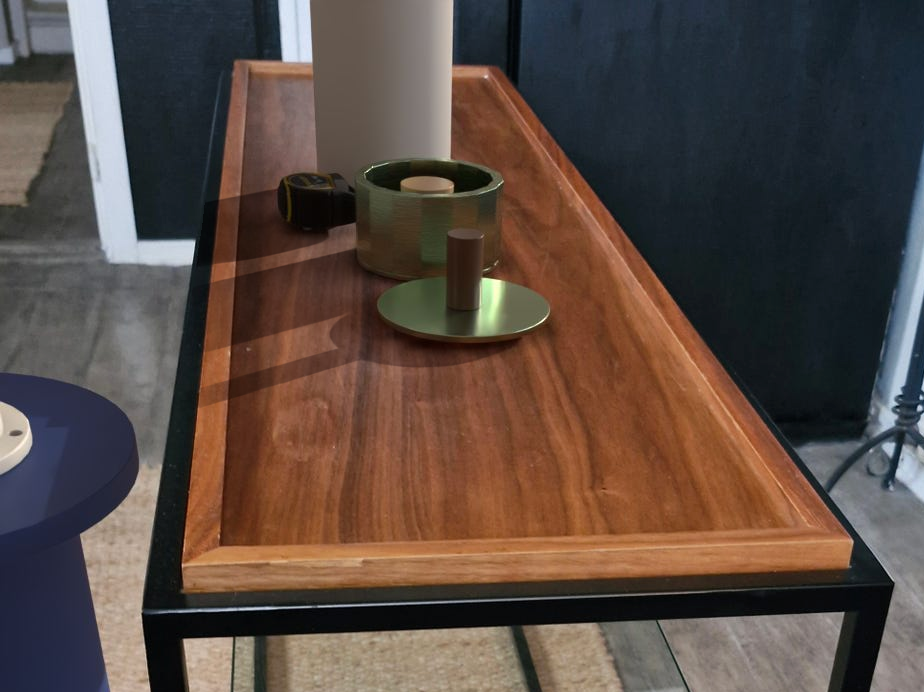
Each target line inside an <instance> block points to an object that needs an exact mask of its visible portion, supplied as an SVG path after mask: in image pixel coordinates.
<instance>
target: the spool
mask: <svg viewBox="0 0 924 692" xmlns="http://www.w3.org/2000/svg"><path fill="white" fill-rule="evenodd" d="M401 192H408V193H417V194H453V193H454V184H453V182H451V181H450V180H447V179H444V178H439V177H429V176H420V177H411V178H407V179H404V180H402V181H401Z"/></svg>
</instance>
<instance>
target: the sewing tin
mask: <svg viewBox="0 0 924 692" xmlns="http://www.w3.org/2000/svg"><path fill="white" fill-rule="evenodd" d="M354 175H355V210H356V223H355V240H356V242H355V243H356V253H357V261H358V263H359V264H360V266H361V267H362V268H364V269H365V270H366V271H368V272H371V273H373V274H374V275H378V276H381V277H385V278H389V279H393V280H398V281H405V282H410V281H414V280H419V279H425V278H433V277H446V265H447V232H448V231H450V230H452V229H458V228H470V229H476V230H479V231H481V232H483V233H484V248H483V276H485V275H487V274H490V273H491V272H493V271H494V270H495V269H497V267H498V265H499V263H500V259H501V254H502V253H501V251H502V228H503V227H502V226H503V208H504V207H503V202H504V182H505V181H504V179H503V177H502V175H501V174H500V172H499V171H496V170H494V169H492V168H490V167H488V166H487V165H486V166H485V165H483V164H479V163H474V162H470V161H466V160H462V159H461V160H460V159H452V158H450V159H443V158H402V159H392V160H384V161H379V162H376V163H372V164H369V165H365V166H363V167H362V168H360V169H359V170H358V171H356V172H355V174H354ZM420 176H429V177H439V178H444V179H447V180H450V181H451V182H453V184H454V193H453V194H417V193H408V192H401V181H402V180H404V179H407V178H411V177H420Z"/></svg>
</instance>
